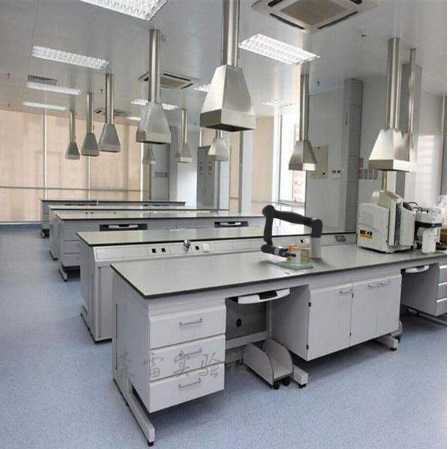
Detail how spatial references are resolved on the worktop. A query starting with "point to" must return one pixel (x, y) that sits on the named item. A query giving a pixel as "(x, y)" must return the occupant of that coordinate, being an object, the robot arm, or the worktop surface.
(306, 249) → the plain box
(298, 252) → the labelled box
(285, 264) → the tray
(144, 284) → the worktop surface
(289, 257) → the bracket
